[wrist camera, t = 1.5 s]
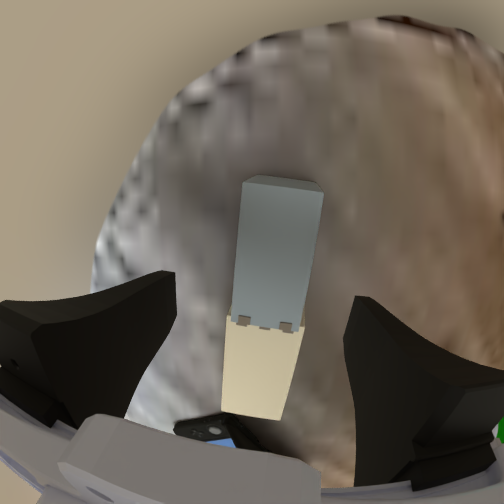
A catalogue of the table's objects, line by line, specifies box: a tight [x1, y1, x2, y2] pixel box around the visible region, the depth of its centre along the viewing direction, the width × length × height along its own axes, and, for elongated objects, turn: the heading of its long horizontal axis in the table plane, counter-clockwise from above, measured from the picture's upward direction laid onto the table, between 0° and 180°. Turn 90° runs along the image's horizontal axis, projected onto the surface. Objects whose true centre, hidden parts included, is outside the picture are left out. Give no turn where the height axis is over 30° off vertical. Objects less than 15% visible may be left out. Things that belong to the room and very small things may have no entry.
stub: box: [231, 175, 324, 332], centre depth 18 cm, size 4×8×6 cm, turn 175°
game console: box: [173, 413, 274, 454], centre depth 26 cm, size 16×14×9 cm
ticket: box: [221, 305, 305, 421], centre depth 22 cm, size 5×10×5 cm, turn 175°
